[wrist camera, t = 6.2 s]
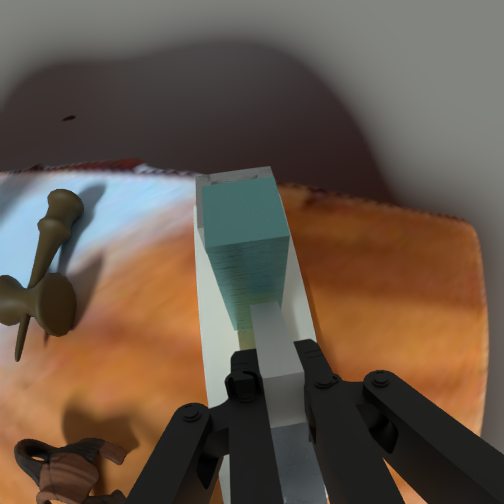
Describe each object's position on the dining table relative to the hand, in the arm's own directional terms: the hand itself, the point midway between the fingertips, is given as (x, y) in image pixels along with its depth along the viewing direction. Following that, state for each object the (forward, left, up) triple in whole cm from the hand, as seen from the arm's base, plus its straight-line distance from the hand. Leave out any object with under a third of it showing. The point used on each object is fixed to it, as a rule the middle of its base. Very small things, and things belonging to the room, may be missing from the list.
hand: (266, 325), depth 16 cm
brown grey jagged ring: (+1, -20, -8) cm, 22 cm away
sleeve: (+7, -5, -8) cm, 12 cm away
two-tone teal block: (0, 0, -7) cm, 7 cm away
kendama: (-19, -15, -8) cm, 26 cm away
